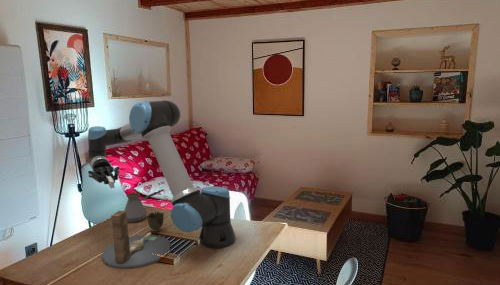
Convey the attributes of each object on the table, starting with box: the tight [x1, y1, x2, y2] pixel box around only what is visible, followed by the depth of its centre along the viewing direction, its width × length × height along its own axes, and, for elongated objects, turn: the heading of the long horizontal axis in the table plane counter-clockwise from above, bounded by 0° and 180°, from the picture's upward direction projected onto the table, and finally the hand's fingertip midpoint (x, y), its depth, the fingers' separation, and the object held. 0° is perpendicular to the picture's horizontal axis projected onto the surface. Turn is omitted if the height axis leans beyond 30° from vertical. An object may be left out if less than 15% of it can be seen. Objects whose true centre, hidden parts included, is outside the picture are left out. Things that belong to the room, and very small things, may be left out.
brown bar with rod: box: [111, 210, 152, 263], centre depth 140 cm, size 24×5×18 cm, turn 167°
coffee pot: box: [123, 189, 166, 223], centre depth 176 cm, size 21×12×15 cm, turn 93°
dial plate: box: [101, 234, 171, 270], centre depth 142 cm, size 26×26×2 cm
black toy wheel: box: [146, 211, 164, 233], centre depth 161 cm, size 8×7×8 cm
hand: (112, 184), depth 140 cm, fingers closed
